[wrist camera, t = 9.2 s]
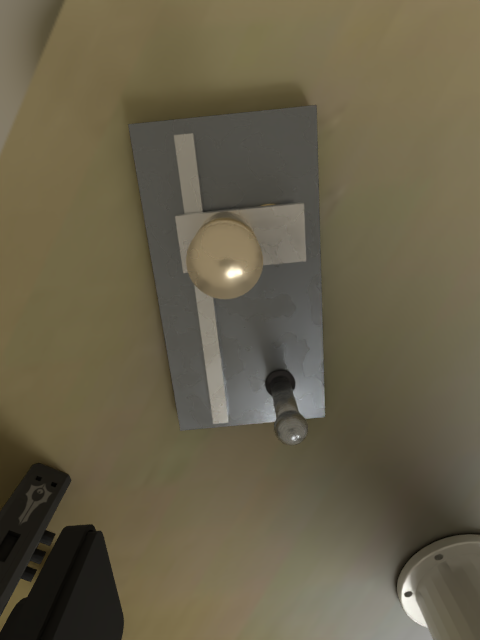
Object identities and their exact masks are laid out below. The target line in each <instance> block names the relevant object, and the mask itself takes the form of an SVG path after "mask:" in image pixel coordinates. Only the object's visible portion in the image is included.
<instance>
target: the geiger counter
mask: <svg viewBox="0 0 480 640" xmlns="http://www.w3.org/2000/svg"><path fill="white" fill-rule="evenodd" d="M70 482H71V479H70V477H69V475H68V474H65V473H63V472H60V471H58V470H55V469H53V468H50V467H48V466H45V465H43V464H40V463H38V464H34V465H32V467H31V468H30V469H29V471H28V472H27V474H26V475H25V477H24V478H23V479H22V481H21V482H20V484H19V485H18V487H17V488H16V490H15V491H14V492H13V494H12V495H11V497H10V498H9V500H8V501H7V502H6V504H5V505H4V507H3V508H2V510H1V511H0V616H1V614H2V612H3V610H4V609H5V607H6V605H7V603H8V601H9V599H10V597H11V595H12V593H13V592H14V590H15V588H16V586H17V584H18V582H19V580H20V578H21V579H24V580H27V581H30V582H31V581H32V579H33V577H34V575H35V573H36V571H37V570H36V569H33V568H30V567H28V566H27V565H28V563H29V561H32V562H35V563H38V564H40V563H41V562H42V560H43V558H44V556H45V554H46V552H44V551H42V550H39V549H36V548H37V546H38V544H39V543H40V542H41V543H43V544H46V545H49V546H50V544H51V542H52V540H53V538H54V536H55V533H52V532H49V531H47V530H46V528H47V526H48V524H49V522H50V520H51V518H52V516H53V514H54V512H55V511H56V509H57V507H58V505H59V503H60V501H61V499H62V497H63V495H64V493H65V491H66V490H67V488H68V486H69V484H70Z"/></svg>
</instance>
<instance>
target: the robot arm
mask: <svg viewBox="0 0 480 640" xmlns="http://www.w3.org/2000/svg"><path fill="white" fill-rule="evenodd" d="M397 593H398V597H399V600H400V602H401V605H402V608H403V609H404V611H405V612H406V614H407V615H408V616H409V617H410V618H411V619H412V620H413V621H415V622H416V623H418V624H420V625H422V626H424V627H427V628H429V631H430V633H431V635H432V638H433V640H480V535H474V534H466V535H456V536H452V537H447V538H444V539H441V540H439V541H436V542H433V543H431V544H430V545H428V546H426V547H424V548H423V549H421V550H420V551H419V552H417V553H416V554H415V555H414V556H413V557H412V558H411V559H410V560H409V561H408V562H407V563H406V565H405V566H404V568H403V569H402V571H401V573H400V576H399V578H398V583H397ZM123 626H124V618H123V612H122V608H121V604H120V600H119V596H118V592H117V588H116V584H115V580H114V576H113V572H112V568H111V564H110V560H109V556H108V552H107V548H106V544H105V540H104V536H103V533H102V532H101V531H96V530H95V527H94V526H93V525H92V524H91V525H77V526H66V527H65V528H64V529H63V530H62V532H61V533H60V535H59V537H58V539H57V541H56V543H55V545H54V547H53V549H52V551H51V553H50V555H49V556H48V558H47V560H46V562H45V564H44V566H43V568H42V570H41V572H40V574H39V576H38V578H37V580H36V582H35V583H34V585H33V587H32V589H31V591H30V593H29V595H28V597H26V598H23V599H22V600H20V601H19V602H18V603H17V604H16V606H15V607H14V609H13V610H12V612H11V614H10V615H9V617H8V619H7V621H6V623H5V625H4V627H3V628H2V630H1V632H0V640H121V638H122V634H123Z"/></svg>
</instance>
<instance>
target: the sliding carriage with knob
mask: <svg viewBox="0 0 480 640" xmlns="http://www.w3.org/2000/svg"><path fill="white" fill-rule="evenodd" d="M175 220H176V226H177V233H178V240H179V247H180V254H181V261H182V268H183V273H188V274H189V276H190V278H191V280H192V282H193V283H194V285H195V286H196V287H197V288H198V289H199V290H200V291H202V292H203V293H205V294H206V295H208V296H211V297H213V298H218V299H232V298H236V297H239V296H242V295H244V294H245V293H247V292H248V291H249V290H251V289H252V288H253V287H254V285H255V284H256V283H257V281H258V280H259V278H260V275H261V273H262V269H263V265H272V264H282V263H293V262H303V261H306V242H305V217H304V203H301V202H298V203H288V204H278V205H268V206H258V207H248V208H238V209H228V210H218V211H208V212H198V213H188V214H178V215H176V216H175Z"/></svg>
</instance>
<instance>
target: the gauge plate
mask: <svg viewBox="0 0 480 640" xmlns="http://www.w3.org/2000/svg"><path fill="white" fill-rule="evenodd" d="M128 126H129V132H130V138H131V144H132V149H133V155H134V161H135V167H136V173H137V179H138V185H139V191H140V196H141V202H142V208H143V214H144V220H145V226H146V232H147V237H148V243H149V249H150V255H151V261H152V267H153V273H154V279H155V284H156V290H157V296H158V302H159V308H160V314H161V320H162V325H163V331H164V337H165V343H166V349H167V355H168V361H169V367H170V372H171V378H172V384H173V390H174V396H175V402H176V408H177V414H178V419H179V425H180V431H181V430H192V429H203V428H213V427H224V426H235V425H245V424H256V423H267V422H275V423H274V431H275V434H276V436H277V438H278V439H279V440H280V441H281V442H282V443H284V444H287V445H296V444H299V443H301V442H302V441H303V440H304V439H305V437H306V435H307V432H308V424H307V421H306V419H309V418H320V417H325V397H324V361H323V324H322V288H321V252H320V215H319V179H318V142H317V106H316V105H312V106H303V107H293V108H283V109H273V110H264V111H254V112H244V113H234V114H225V115H215V116H205V117H195V118H186V119H176V120H166V121H156V122H147V123H137V124H128ZM298 202H301V203H304V217H305V242H306V261H303V262H293V263H282V264H272V265H263V269H262V273H261V275H260V278H259V280H258V281H257V283H256V284H255V285H254V287H253V288H252V289H251V290H249V291H248V292H247V293H245V294H244V295H242V296H239V297H236V298H232V299H218V298H213V297H211V296H208V295H206V294H205V293H203V292H202V291H200V290H199V289H198V288H197V287H196V286H195V285H194V283H193V282H192V280H191V278H190V276H189V274H188V273H183V268H182V261H181V254H180V247H179V240H178V233H177V226H176V220H175V216H176V215H178V214H188V213H198V212H208V211H218V210H228V209H238V208H248V207H258V206H268V205H278V204H288V203H298Z"/></svg>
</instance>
